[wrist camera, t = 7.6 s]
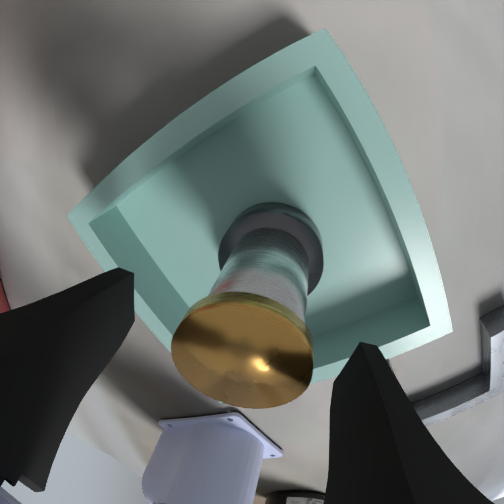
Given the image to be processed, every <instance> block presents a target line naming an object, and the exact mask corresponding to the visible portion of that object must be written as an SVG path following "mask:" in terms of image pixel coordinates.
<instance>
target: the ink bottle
mask: <svg viewBox="0 0 504 504" xmlns="http://www.w3.org/2000/svg"><path fill="white" fill-rule="evenodd" d="M324 498H325V495H323V494H319V493H314V492H308V491H283V492H276V493H272V494H269V495H268V496H267V497H266V501H265V504H323V503H324Z"/></svg>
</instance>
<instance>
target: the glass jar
mask: <svg viewBox="0 0 504 504" xmlns="http://www.w3.org/2000/svg"><path fill="white" fill-rule="evenodd" d="M218 263H219V267H220V271H221V272H220V274H219V276H218V278H217V280H216V281H215V283H214V285H213V287H212V289H211V291H210V293H209V294H208V296H207V297H204V298H202V299H201V300H199V301H197V302H196V303H195V304H194V305H192V306H191V307H190V308H189V310H188V311H187V312H186V314H185V316H184V317H183V319H182V321H181V323H180V324H179V326H178V328H177V329H176V331H175V333H174V335H173V337H172V341H171V355H172V358H173V361H174V363H175V366H176V367H177V369H178V371H179V372H180V373H181V375H182V376H183V377H184V378H185V379H186V380H187V381H188V382H189V383H190V384H191V385H192V386H193V387H194V388H196V389H197V390H199V391H200V392H202V393H203V394H205V395H207V396H209V397H211V398H213V399H215V400H217V401H220V402H222V403H225V404H229V405H232V406H237V407H243V408H253V409H261V408H271V407H276V406H280V405H283V404H286V403H288V402H291V401H293V400H294V399H296V398H297V397H299V396H300V395H301V394H302V393H303V392H304V391H305V390H306V389H307V387H308V386H309V384H310V382H311V379H312V375H313V362H314V343H313V338H312V336H311V333H310V331H309V329H308V328H307V326H306V324H305V321H306V307H307V296H308V295H309V294H310V293H311V292H312V291H313V290H314V289H315V288H316V286H317V285H318V283H319V281H320V279H321V276H322V273H323V266H324V260H323V243H322V238H321V235H320V232H319V230H318V228H317V226H316V225H315V223H314V222H313V221H312V220H311V219H310V217H309V216H308V215H306V214H305V213H304V212H302V211H301V210H299V209H298V208H295V207H293V206H291V205H288V204H285V203H279V202H265V203H260V204H257V205H254V206H251V207H249V208H247V209H246V210H244V211H243V212H242V213H240V214H239V215H238V216H237V217H236V219H235V220H234V221H233V223H232V224H231V226H230V227H229V229H228V230H227V232H226V233H225V235H224V236H223V238H222V240H221V243H220V246H219V251H218Z"/></svg>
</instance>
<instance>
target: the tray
mask: <svg viewBox="0 0 504 504" xmlns="http://www.w3.org/2000/svg"><path fill="white" fill-rule="evenodd" d="M265 202H279V203H285V204H288V205H291V206H293V207H295V208H298V209H299V210H301V211H302V212H304V213H305V214H306V215H308V216H309V217H310V219H311V220H312V221H313V222H314V223H315V225H316V226H317V228H318V230H319V232H320V235H321V238H322V243H323V260H324V266H323V273H322V276H321V279H320V281H319V283H318V285H317V286H316V288H315V289H314V290H313V291H312V292H311V293H310V294H309V295H308V296H307V307H306V321H305V324H306V326H307V328H308V329H309V331H310V333H311V336H312V338H313V343H314V362H313V375H312V379H311V382H310V384H312V383H315V382H319V381H322V380H326V379H329V378H332V377H336V376H338V375H339V373H340V372H341V370H342V369H343V367H344V366H345V364H346V363H347V361H348V360H349V358H350V357H351V355H352V353H353V352H354V350H355V349H356V347H357V345H358V344H359V342H364V343H368V344H373V345H377V346H378V348H379V349H380V351H381V352H382V354H383V356H384V357H385V359H389V358H392V357H394V356H397V355H399V354H402V353H404V352H407V351H409V350H412V349H414V348H417V347H419V346H421V345H424V344H426V343H428V342H431V341H433V340H435V339H437V338H440V337H442V336H444V335H446V334H448V333H450V332H453V330H452V324H451V319H450V314H449V309H448V304H447V300H446V295H445V291H444V287H443V282H442V278H441V275H440V271H439V267H438V263H437V260H436V256H435V253H434V249H433V246H432V243H431V239H430V236H429V233H428V230H427V227H426V224H425V221H424V218H423V215H422V212H421V210H420V207H419V204H418V201H417V199H416V196H415V193H414V191H413V188H412V186H411V183H410V181H409V178H408V176H407V173H406V171H405V169H404V166H403V164H402V162H401V159H400V157H399V155H398V153H397V150H396V148H395V146H394V144H393V142H392V140H391V138H390V136H389V134H388V131H387V129H386V127H385V125H384V123H383V121H382V120H381V118H380V116H379V114H378V112H377V110H376V108H375V106H374V104H373V103H372V101H371V99H370V97H369V95H368V94H367V92H366V90H365V88H364V87H363V85H362V83H361V81H360V80H359V78H358V76H357V75H356V73H355V72H354V70H353V68H352V67H351V65H350V64H349V62H348V60H347V59H346V57H345V56H344V54H343V53H342V51H341V50H340V48H339V47H338V45H337V44H336V42H335V41H334V39H333V38H332V37H331V35H330V34H329V32H328V31H327V30H326V28H324V29H322V30H320V31H318V32H315V33H313V34H311V35H309V36H307V37H305V38H303V39H301V40H299V41H297V42H295V43H293V44H291V45H289V46H287V47H285V48H283V49H282V50H280V51H278V52H276V53H274V54H272V55H271V56H269V57H267V58H265V59H264V60H262V61H260V62H258V63H257V64H255V65H253V66H252V67H250V68H248V69H247V70H245V71H243V72H242V73H240V74H238V75H237V76H235V77H234V78H232V79H230V80H229V81H227V82H226V83H224V84H223V85H221V86H220V87H218V88H217V89H215V90H214V91H212V92H211V93H209V94H208V95H206V96H205V97H203V98H202V99H201V100H199V101H198V102H196V103H195V104H193V105H192V106H191V107H189V108H188V109H187V110H185V111H184V112H183V113H181V114H180V115H178V116H177V117H176V118H175V119H173V120H172V121H171V122H169V123H168V124H167V125H165V126H164V127H163V128H162V129H160V130H159V131H158V132H157V133H155V134H154V135H153V136H152V137H150V138H149V139H148V140H147V141H146V142H144V143H143V144H142V145H141V146H140V147H138V148H137V149H136V150H135V151H134V152H133V153H131V154H130V155H129V156H128V157H127V158H126V159H125V160H124V161H122V162H121V163H120V164H119V165H118V166H117V167H116V168H115V169H114V170H113V171H111V172H110V173H109V174H108V175H107V176H106V177H105V178H104V179H103V180H102V181H101V182H100V183H99V184H98V185H97V186H96V187H95V188H94V189H93V190H92V191H91V192H90V193H89V194H88V195H87V196H86V197H85V198H84V199H83V200H82V201H81V202H80V203H79V204H78V205H77V206H76V207H75V208H74V209H73V210H72V211H71V212H70V213H69V214H68V215H67V217H68V219H69V220H70V222H71V224H72V225H73V227H74V228H75V230H76V231H77V233H78V234H79V236H80V237H81V239H82V240H83V242H84V243H85V245H86V246H87V248H88V249H89V251H90V252H91V254H92V255H93V256H94V258H95V259H96V261H97V262H98V263H99V265H100V266H101V268H102V269H103V270H104V272H107V271H109V270H112V269H114V268H117V267H119V268H122V269H125V270H127V271H130V272H133V273H134V311H135V312H136V313H137V314H138V316H139V317H140V318H141V319H142V320H143V322H144V323H145V324H146V325H147V326H148V328H149V329H150V330H151V331H152V332H153V333H154V335H155V336H156V337H157V338H158V339H159V340H160V341H161V343H162V344H163V345H164V346H165V347H166V348H167V349H168V350H169V352H170V353H171V341H172V337H173V335H174V333H175V331H176V329H177V328H178V326H179V324H180V323H181V321H182V319H183V317H184V316H185V314H186V312H187V311H188V310H189V308H190V307H191V306H192V305H194V304H195V303H196V302H197V301H199V300H201V299H202V298H204V297H207V296H208V294H209V293H210V291H211V289H212V287H213V285H214V283H215V281H216V280H217V278H218V276H219V274H220V272H221V271H220V267H219V263H218V251H219V246H220V243H221V240H222V238H223V236H224V235H225V233H226V232H227V230H228V229H229V227H230V226H231V224H232V223H233V221H234V220H235V219H236V217H237V216H238V215H239V214H240V213H242V212H243V211H244V210H246V209H247V208H249V207H251V206H254V205H257V204H260V203H265ZM218 402H219V403H222V402H220V401H218Z"/></svg>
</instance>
